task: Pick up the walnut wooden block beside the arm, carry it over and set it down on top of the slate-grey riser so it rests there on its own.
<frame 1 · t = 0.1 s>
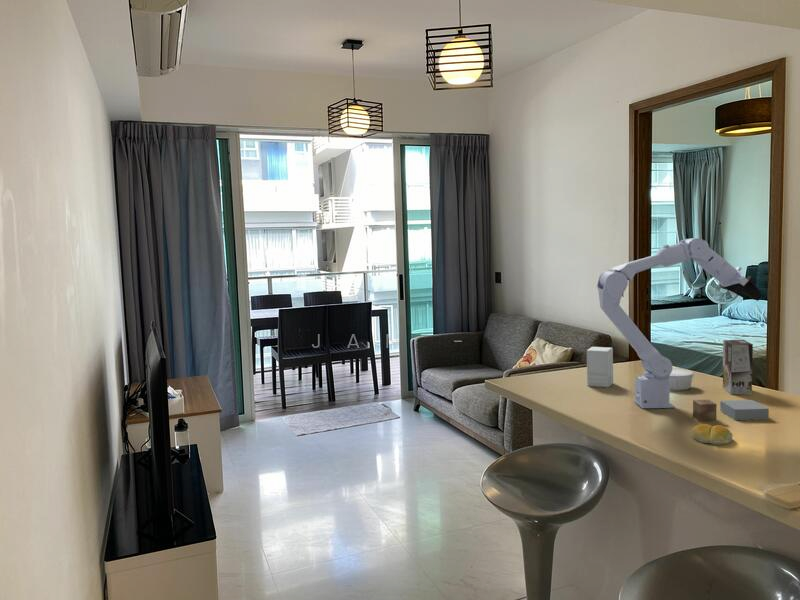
hand: (753, 296, 187), 32 cm above the table, tool tilted 50°, fingers open, 7 cm apart
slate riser: (743, 415, 179), on the table
supplement box: (600, 385, 219), on the table
bread roll: (712, 441, 160), on the table
coffee box: (736, 391, 204), on the table
ramekin: (674, 388, 212), on the table
walnut block: (704, 419, 177), on the table
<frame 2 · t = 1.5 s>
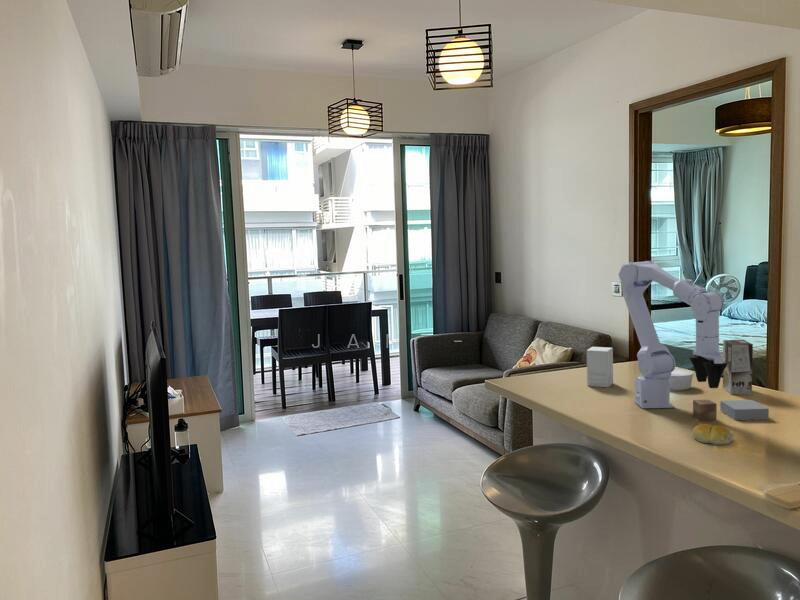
hand: (707, 384, 175), 10 cm above the table, tool pointing down, fingers open, 7 cm apart
nothing on the table moved.
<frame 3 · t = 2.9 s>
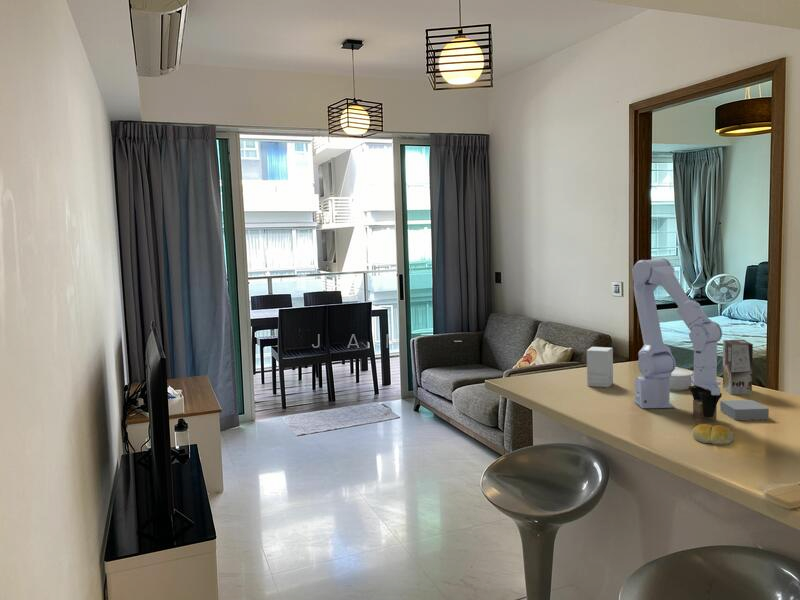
hand: (704, 414, 176), 1 cm above the table, tool pointing down, fingers closed on walnut block, 4 cm apart
walnut block: (704, 419, 177), on the table, touching gripper
everything else where it was.
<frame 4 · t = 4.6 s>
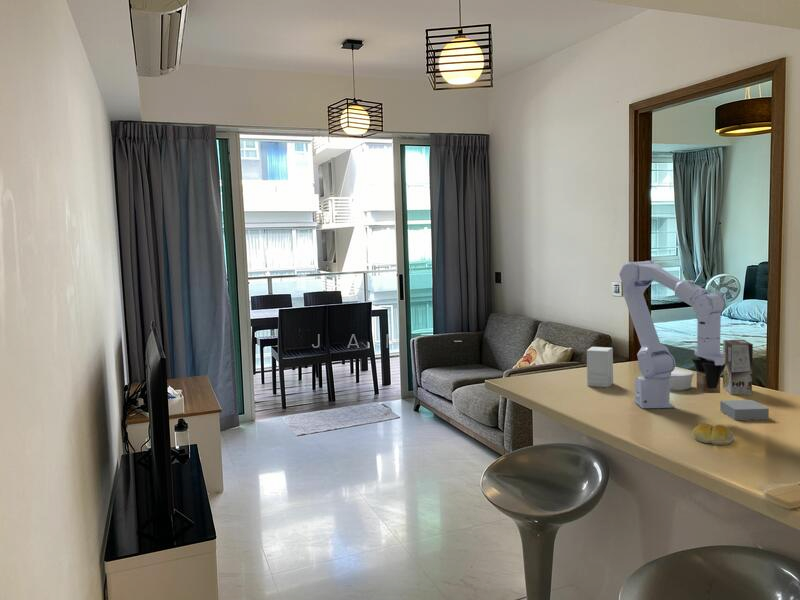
hand: (708, 385, 176), 9 cm above the table, tool pointing down, fingers closed on walnut block, 4 cm apart
walnut block: (708, 391, 176), point 8 cm above the table, touching gripper
everything else where it was.
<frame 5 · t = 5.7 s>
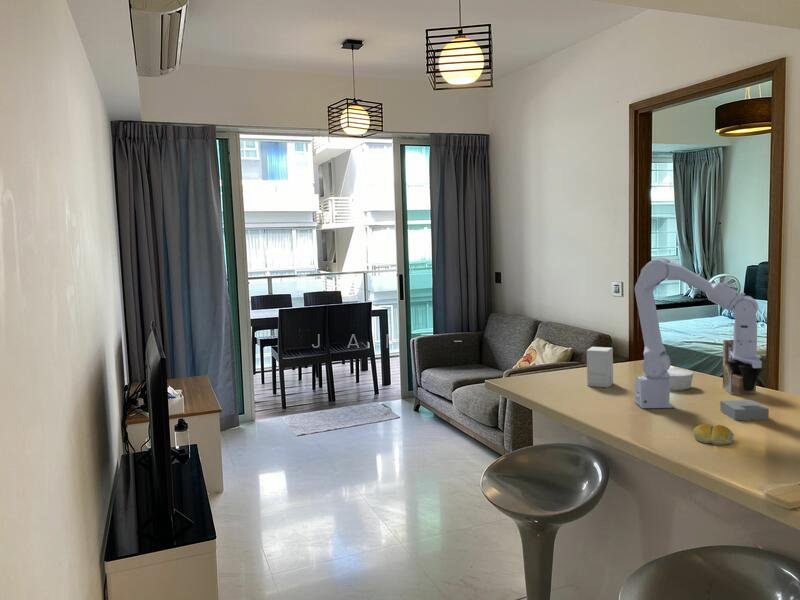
hand: (744, 388, 178), 8 cm above the table, tool pointing down, fingers closed on walnut block, 4 cm apart
walnut block: (743, 393, 178), point 6 cm above the table, touching gripper
everything else where it was.
when the fingers open (6 cm above the table, at t = 6.5 s): walnut block drops 1 cm, resting on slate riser.
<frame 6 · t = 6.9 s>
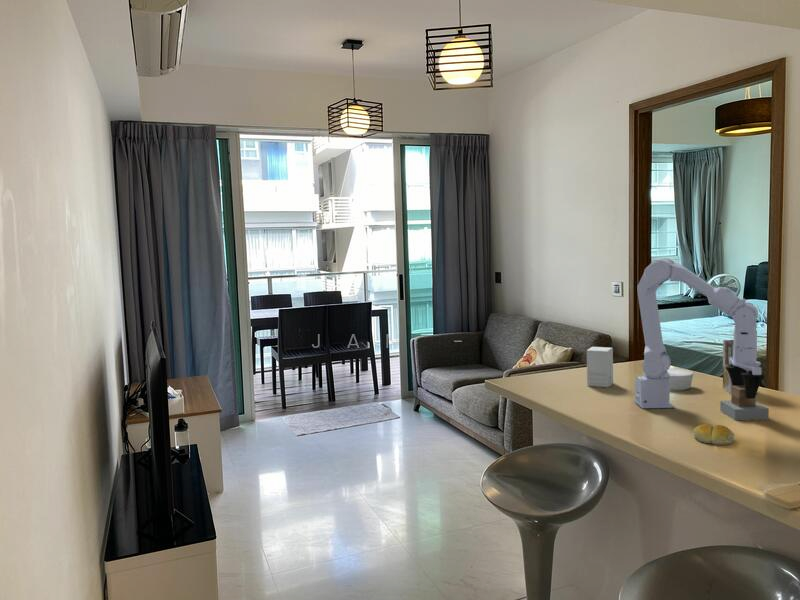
hand: (744, 394, 178), 6 cm above the table, tool pointing down, fingers open, 7 cm apart
walnut block: (743, 404, 178), point 3 cm above the table, touching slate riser
everything else where it was.
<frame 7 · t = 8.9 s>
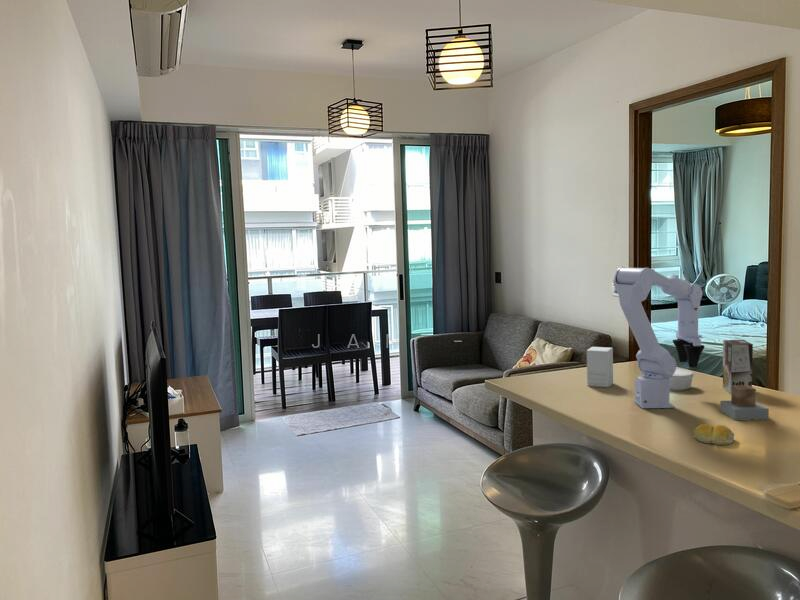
hand: (688, 364, 198), 10 cm above the table, tool pointing down, fingers open, 7 cm apart
nothing on the table moved.
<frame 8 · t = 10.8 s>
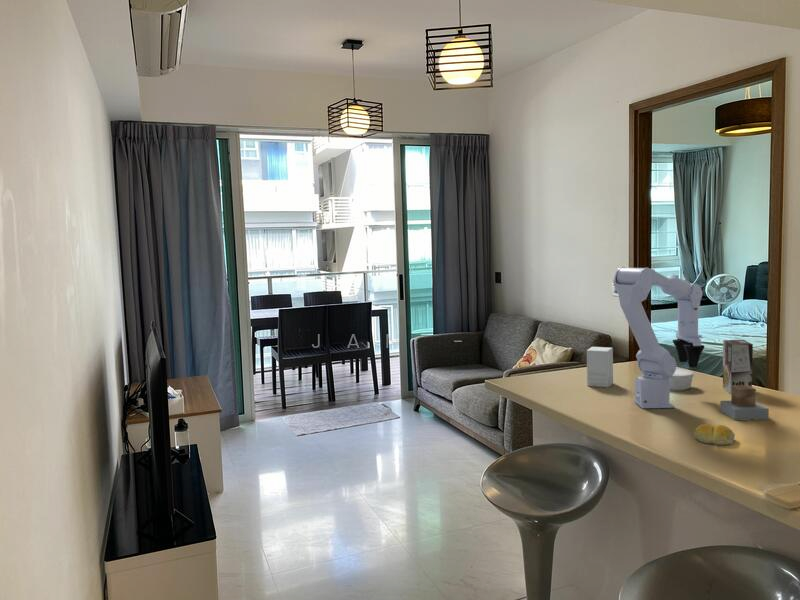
hand: (688, 364, 198), 10 cm above the table, tool pointing down, fingers open, 7 cm apart
nothing on the table moved.
at the end: walnut block inside the target area on the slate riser (0.2 cm from its centre), point 3.0 cm above the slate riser's base; walnut block touching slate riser; walnut block tilted 0° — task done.
